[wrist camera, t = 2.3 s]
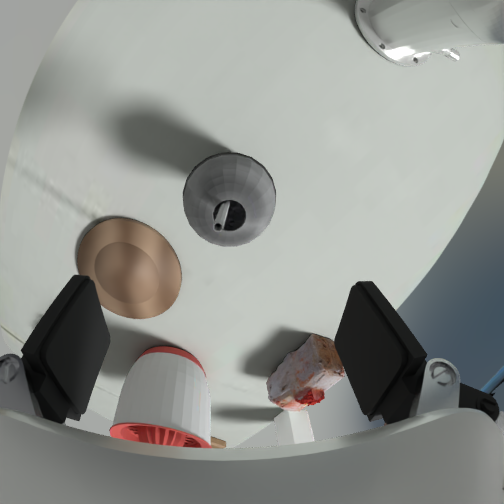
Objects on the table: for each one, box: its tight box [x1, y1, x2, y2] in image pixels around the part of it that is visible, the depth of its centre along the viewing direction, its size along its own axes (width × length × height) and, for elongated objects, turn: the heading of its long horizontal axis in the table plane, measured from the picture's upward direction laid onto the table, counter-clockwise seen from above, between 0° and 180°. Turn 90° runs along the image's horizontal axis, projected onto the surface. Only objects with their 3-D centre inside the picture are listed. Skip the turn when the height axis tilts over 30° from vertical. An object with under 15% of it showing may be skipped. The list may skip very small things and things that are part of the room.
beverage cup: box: [183, 153, 276, 247], centre depth 22 cm, size 7×7×20 cm
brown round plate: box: [77, 218, 182, 319], centre depth 35 cm, size 16×16×1 cm
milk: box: [274, 410, 315, 446], centre depth 47 cm, size 6×6×22 cm
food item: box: [266, 334, 345, 412], centre depth 43 cm, size 14×8×10 cm, turn 149°
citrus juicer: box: [110, 346, 212, 448], centre depth 37 cm, size 16×17×20 cm
